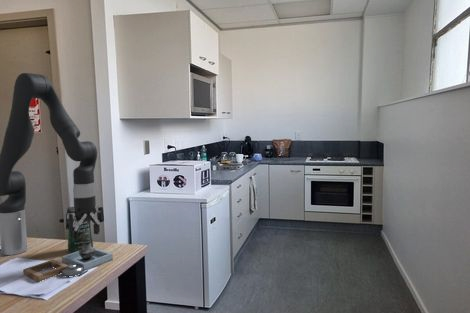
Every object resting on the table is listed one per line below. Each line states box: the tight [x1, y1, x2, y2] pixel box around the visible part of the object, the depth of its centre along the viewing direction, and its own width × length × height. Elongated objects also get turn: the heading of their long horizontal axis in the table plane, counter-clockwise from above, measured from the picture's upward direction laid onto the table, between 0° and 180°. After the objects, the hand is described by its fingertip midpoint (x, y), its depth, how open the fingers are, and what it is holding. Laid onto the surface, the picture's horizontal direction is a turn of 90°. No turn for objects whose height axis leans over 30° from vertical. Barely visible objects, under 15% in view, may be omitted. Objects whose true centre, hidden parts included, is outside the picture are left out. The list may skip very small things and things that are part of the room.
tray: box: [61, 247, 114, 272], centre depth 131 cm, size 14×12×2 cm
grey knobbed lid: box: [61, 264, 85, 278], centre depth 121 cm, size 7×7×3 cm
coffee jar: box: [66, 206, 94, 253], centre depth 143 cm, size 10×8×19 cm
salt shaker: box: [79, 229, 95, 263], centre depth 131 cm, size 6×6×12 cm
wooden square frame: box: [22, 259, 69, 283], centre depth 121 cm, size 10×10×2 cm
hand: (86, 236), depth 130 cm, fingers open, 8 cm apart
